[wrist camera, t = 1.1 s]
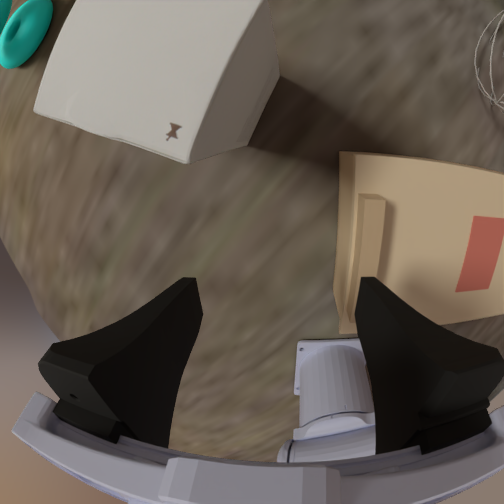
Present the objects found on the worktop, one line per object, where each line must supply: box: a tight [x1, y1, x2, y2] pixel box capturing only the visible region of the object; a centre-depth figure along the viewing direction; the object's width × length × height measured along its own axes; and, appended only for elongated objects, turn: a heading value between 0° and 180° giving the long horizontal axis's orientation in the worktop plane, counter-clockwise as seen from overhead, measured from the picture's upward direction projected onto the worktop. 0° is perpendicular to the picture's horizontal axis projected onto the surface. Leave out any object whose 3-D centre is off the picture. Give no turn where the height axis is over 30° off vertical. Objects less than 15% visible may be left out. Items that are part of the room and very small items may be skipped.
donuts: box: [0, 0, 53, 69], centre depth 10 cm, size 10×10×10 cm
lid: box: [339, 154, 504, 334], centre depth 14 cm, size 12×18×2 cm
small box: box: [34, 0, 280, 164], centre depth 12 cm, size 8×6×13 cm
